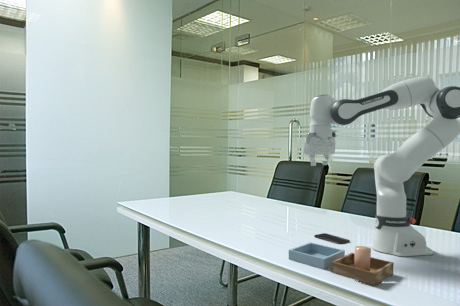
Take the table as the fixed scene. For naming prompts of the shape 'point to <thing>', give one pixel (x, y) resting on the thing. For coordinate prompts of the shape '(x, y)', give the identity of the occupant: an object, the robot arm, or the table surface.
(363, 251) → the orange-tan rounded cylinder
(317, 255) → the bin
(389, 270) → the tray
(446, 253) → the table surface
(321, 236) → the phone
